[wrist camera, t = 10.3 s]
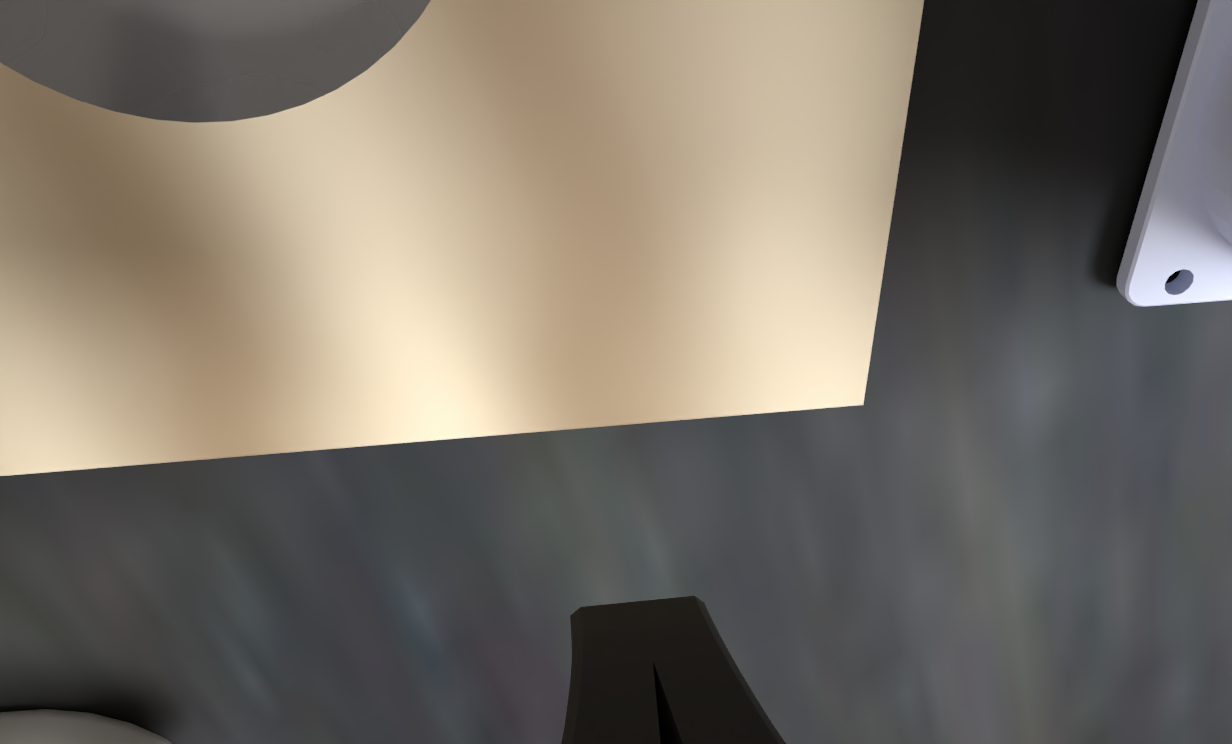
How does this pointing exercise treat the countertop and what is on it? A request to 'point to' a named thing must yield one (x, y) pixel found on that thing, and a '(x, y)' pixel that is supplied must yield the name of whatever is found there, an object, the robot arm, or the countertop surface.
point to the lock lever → (199, 51)
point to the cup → (70, 729)
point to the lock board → (461, 237)
